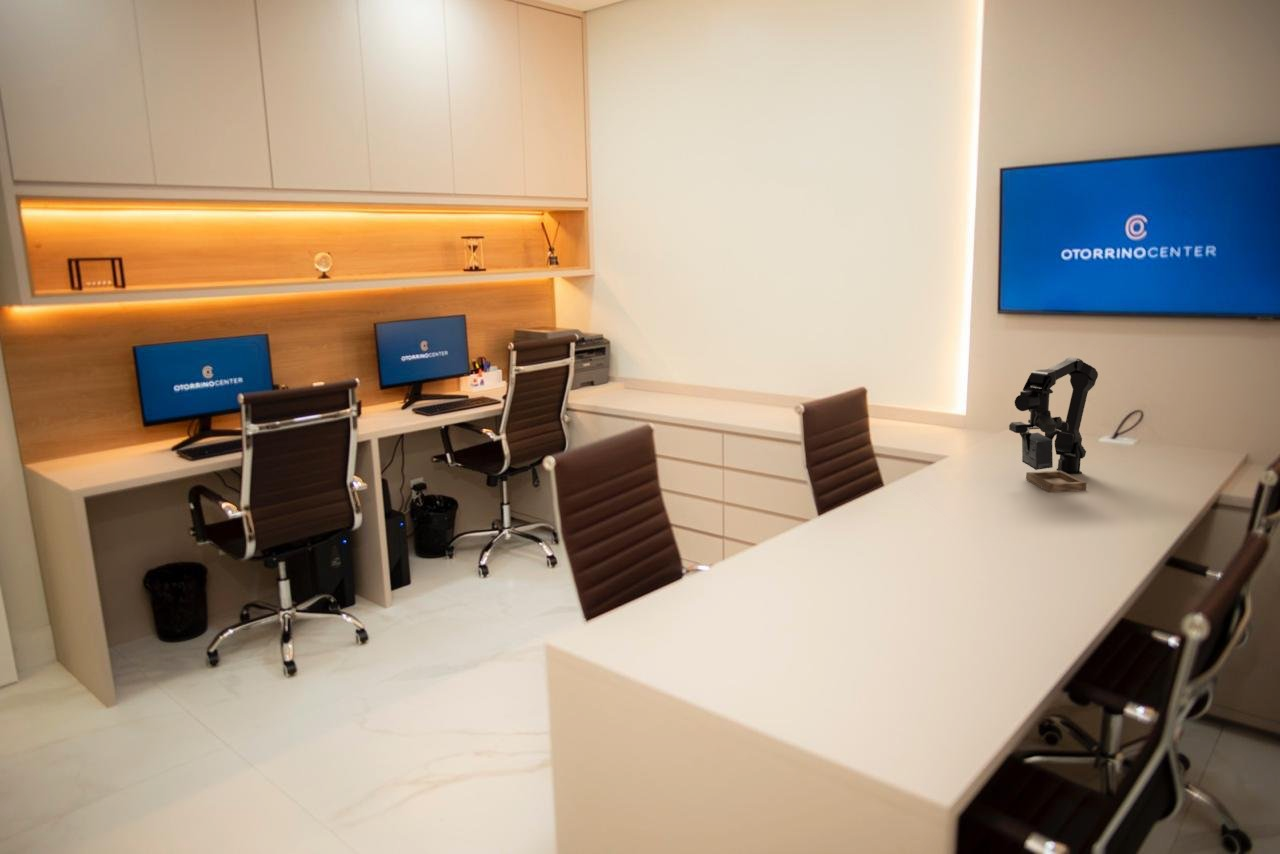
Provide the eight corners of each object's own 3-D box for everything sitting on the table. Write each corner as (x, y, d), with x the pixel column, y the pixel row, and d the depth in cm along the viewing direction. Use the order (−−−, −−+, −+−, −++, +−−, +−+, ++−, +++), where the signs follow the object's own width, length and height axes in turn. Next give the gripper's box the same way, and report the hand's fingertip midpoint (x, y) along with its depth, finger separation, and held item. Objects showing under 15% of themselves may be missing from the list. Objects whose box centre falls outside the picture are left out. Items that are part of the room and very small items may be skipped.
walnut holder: (1060, 477, 309) (1061, 470, 309) (1085, 490, 294) (1086, 482, 293) (1025, 479, 309) (1026, 472, 308) (1049, 492, 293) (1049, 484, 293)
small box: (1054, 467, 300) (1053, 439, 297) (1036, 470, 299) (1035, 442, 297) (1039, 458, 310) (1038, 431, 307) (1021, 461, 310) (1020, 434, 307)
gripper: (1024, 413, 291) (1022, 457, 295) (1078, 410, 292) (1075, 454, 295) (1009, 406, 302) (1007, 449, 306) (1061, 403, 303) (1058, 446, 306)
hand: (1037, 449), depth 303 cm, fingers closed on small box, 6 cm apart
